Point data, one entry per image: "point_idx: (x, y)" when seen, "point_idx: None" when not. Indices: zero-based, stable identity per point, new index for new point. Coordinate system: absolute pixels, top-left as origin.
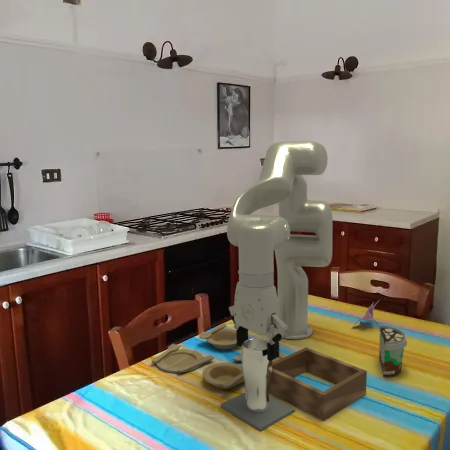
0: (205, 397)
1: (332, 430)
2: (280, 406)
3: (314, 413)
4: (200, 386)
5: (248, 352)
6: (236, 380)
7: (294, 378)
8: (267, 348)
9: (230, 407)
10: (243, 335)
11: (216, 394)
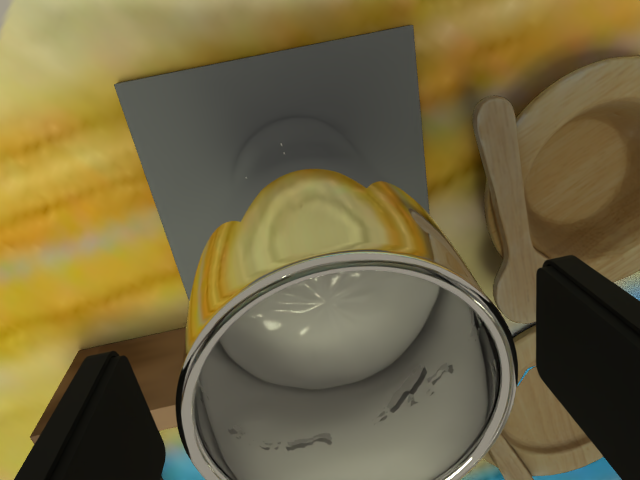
0: (530, 3)
1: (6, 342)
2: None
3: (122, 347)
4: (630, 38)
5: (281, 249)
6: (493, 188)
7: None
8: (56, 452)
9: (356, 56)
10: (600, 387)
11: (514, 72)
